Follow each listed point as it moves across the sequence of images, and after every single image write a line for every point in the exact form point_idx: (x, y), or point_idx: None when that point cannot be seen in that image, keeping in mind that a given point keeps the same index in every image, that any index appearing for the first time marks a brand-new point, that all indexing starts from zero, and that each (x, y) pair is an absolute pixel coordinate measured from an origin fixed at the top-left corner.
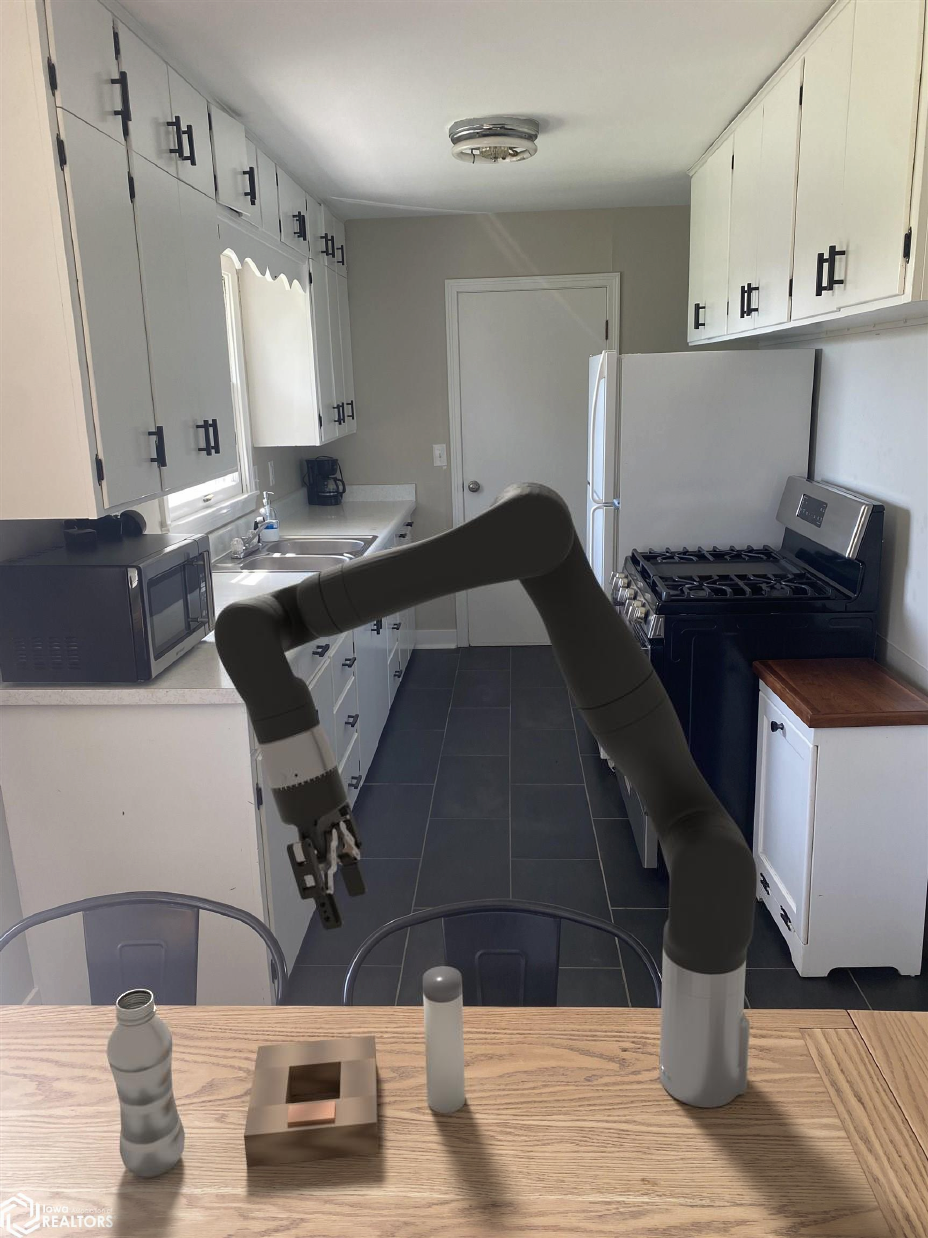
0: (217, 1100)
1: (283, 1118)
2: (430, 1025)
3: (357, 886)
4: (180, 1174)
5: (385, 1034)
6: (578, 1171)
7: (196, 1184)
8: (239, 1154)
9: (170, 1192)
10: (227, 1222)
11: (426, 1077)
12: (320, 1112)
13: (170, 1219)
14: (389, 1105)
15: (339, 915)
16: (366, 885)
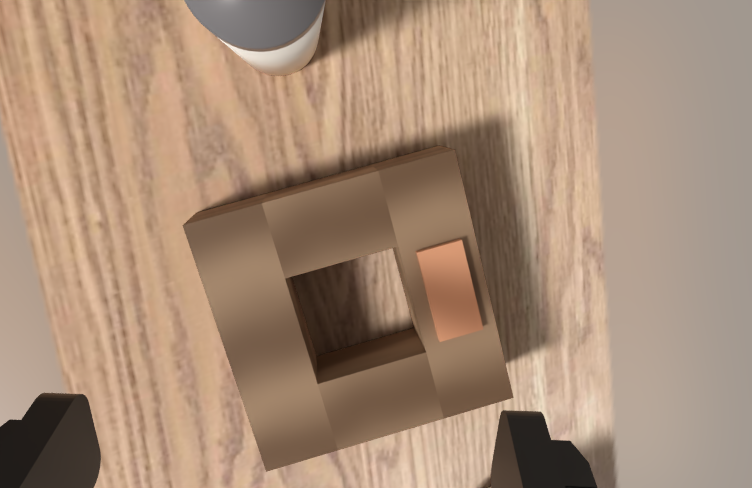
0: (347, 484)
1: (463, 341)
2: (316, 30)
3: (66, 458)
4: None
5: (92, 217)
6: None
7: None
8: None
9: None
10: (598, 354)
11: (286, 71)
12: (451, 272)
13: (598, 441)
14: (312, 154)
15: (553, 452)
16: (32, 409)
